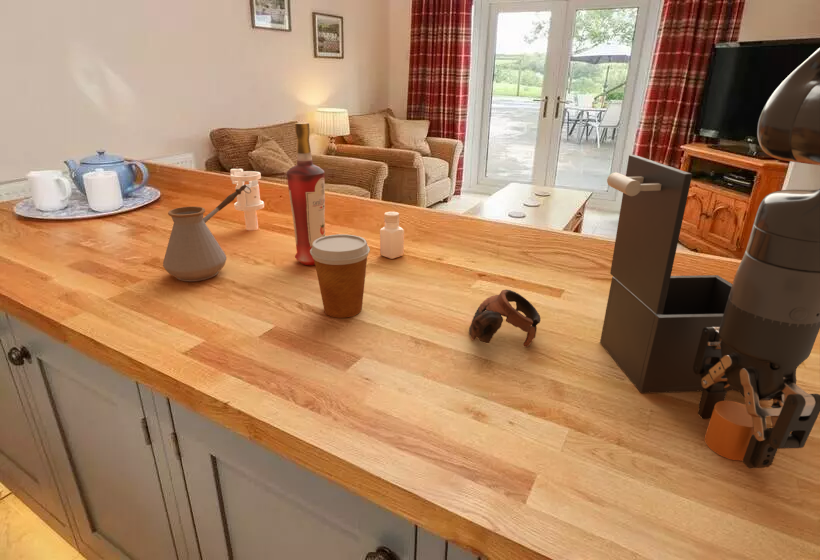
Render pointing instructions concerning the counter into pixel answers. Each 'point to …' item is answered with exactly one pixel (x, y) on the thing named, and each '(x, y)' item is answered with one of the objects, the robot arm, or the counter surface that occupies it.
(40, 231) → the counter surface
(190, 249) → the coffee pot
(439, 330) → the counter surface
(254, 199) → the white plastic fitting
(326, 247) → the disposable coffee cup
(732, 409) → the orange cylinder
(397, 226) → the white medicine bottle
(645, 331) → the dark grey storage bin
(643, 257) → the box lid with handle
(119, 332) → the counter surface
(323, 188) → the liquor
